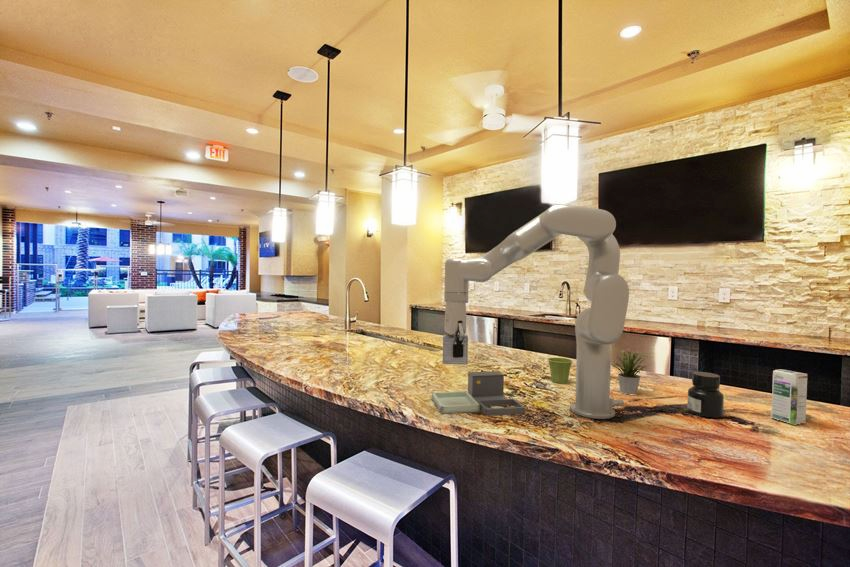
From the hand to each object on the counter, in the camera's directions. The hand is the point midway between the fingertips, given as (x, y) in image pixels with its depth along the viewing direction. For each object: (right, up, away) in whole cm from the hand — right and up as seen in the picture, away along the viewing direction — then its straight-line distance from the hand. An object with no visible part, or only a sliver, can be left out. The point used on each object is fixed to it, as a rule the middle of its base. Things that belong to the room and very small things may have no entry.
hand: (455, 354), depth 122 cm
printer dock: (+13, -16, +3) cm, 21 cm away
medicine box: (0, -3, 0) cm, 3 cm away
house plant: (+64, -17, +15) cm, 68 cm away
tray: (0, -16, 0) cm, 16 cm away
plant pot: (+43, -16, +30) cm, 55 cm away
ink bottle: (+76, -17, -4) cm, 78 cm away
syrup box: (+96, -18, -10) cm, 98 cm away
